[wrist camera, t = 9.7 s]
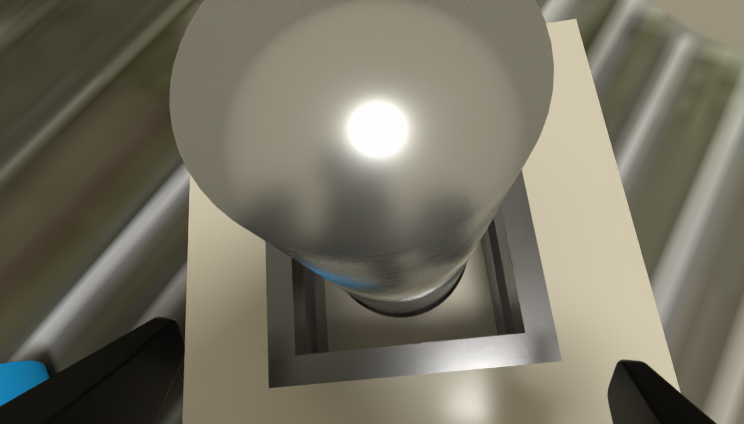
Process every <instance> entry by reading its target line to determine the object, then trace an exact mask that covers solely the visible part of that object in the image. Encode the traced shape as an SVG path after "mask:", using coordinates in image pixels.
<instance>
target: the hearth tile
mask: <svg viewBox="0 0 744 424" xmlns="http://www.w3.org/2000/svg"><path fill="white" fill-rule="evenodd" d="M546 26H547V29H548V33H549V36H550V40H551V44H552V53H553V61H554V81H553V93H552V98H551V103H550V108H549V113H548V116H547V119H546V121H545V124H544V127H543V130H542V132H541V135H540V137H539V139H538V141H537V143H536V145H535V147H534V149H533V150H532V152H531V154H530V156H529V158H528V160H527V161H526V163H525V165H524V166H523V168H522V173H523V177H524V182H525V187H526V192H527V196H528V201H529V206H530V211H531V215H532V220H533V225H534V230H535V234H536V239H537V244H538V249H539V253H540V258H541V263H542V268H543V272H544V277H545V282H546V287H547V292H548V296H549V301H550V306H551V311H552V315H553V320H554V325H555V330H556V334H557V339H558V344H559V349H560V353H561V358H562V361H559V362H548V363H538V364H527V365H516V366H505V367H494V368H483V369H473V370H462V371H451V372H440V373H429V374H418V375H407V376H397V377H386V378H375V379H364V380H353V381H342V382H331V383H321V384H310V385H299V386H288V387H277V388H269V381H268V337H267V293H266V248H265V241H264V240H263V239H261V238H260V237H258V236H256V235H255V234H253V233H252V232H250V231H248V230H247V229H245V228H244V227H242V226H240V225H239V224H237V223H236V222H234V221H233V220H232V219H230V218H229V217H228V216H227V215H226V214H224V213H223V212H222V211H221V210H220V209H218V208H217V207H216V206H215V205H214V204H213V203H212V202H211V201H210V200H209V198H208V197H207V196H206V195H205V194H204V193H203V192H202V191H201V189H200V188H199V187H198V185H197V184H196V182H195V181H194V179H193V178H192V176H191V174H190V196H189V229H188V261H187V294H186V326H185V359H184V391H183V424H613V421H612V417H611V412H610V408H609V403H608V396H607V393H608V387H609V384H610V381H611V378H612V375H613V372H614V369H615V367H616V364H617V362H618V361H619V360H622V359H626V360H637V361H642V362H644V363H646V364H647V365H649V366H650V367H651V368H652V369H653V370H655V371H656V372H657V373H658V374H659V375H660V376H661V377H663V378H664V379H665V380H666V381H667V382H668V383H670V384H671V385H672V386H673V387H674V388H675V389H677V390H678V391H679V392H680V389H679V386H678V382H677V379H676V375H675V371H674V368H673V364H672V361H671V357H670V354H669V350H668V346H667V343H666V339H665V336H664V332H663V329H662V325H661V321H660V318H659V314H658V311H657V307H656V304H655V300H654V296H653V293H652V289H651V286H650V282H649V279H648V275H647V271H646V268H645V264H644V261H643V257H642V254H641V250H640V246H639V243H638V239H637V236H636V232H635V229H634V225H633V221H632V218H631V214H630V211H629V207H628V204H627V200H626V196H625V193H624V189H623V186H622V182H621V179H620V175H619V171H618V168H617V164H616V161H615V157H614V154H613V150H612V146H611V143H610V139H609V136H608V132H607V129H606V125H605V121H604V118H603V114H602V111H601V107H600V103H599V100H598V96H597V93H596V89H595V86H594V82H593V78H592V75H591V71H590V68H589V64H588V61H587V57H586V53H585V50H584V46H583V43H582V39H581V36H580V32H579V28H578V25H577V21H576V19H573V20H566V21H560V22H553V23H547V24H546ZM324 283H325V299H326V315H327V332H328V348H329V352H330V351H340V350H350V349H361V348H371V347H381V346H391V345H401V344H412V343H422V342H432V341H442V340H452V339H463V338H473V337H483V336H493V335H497V329H496V323H495V317H494V311H493V306H492V300H491V294H490V288H489V282H488V276H487V271H486V265H485V259H484V253H483V247H482V242H481V240H480V242H479V243H478V245H477V247H476V248H475V250H474V252H473V254H472V255H471V257H470V259H469V260H468V262H467V264H466V268H465V271H464V274H463V276H462V278H461V280H460V282H459V284H458V285H457V287H456V288H455V290H454V291H453V292H452V294H451V295H450V296H449V297H448V298H447V299H446V300H445V301H444V302H443V303H442V304H440V305H439V306H438V307H436V308H434V309H433V310H431V311H429V312H427V313H424V314H422V315H419V316H415V317H409V318H394V317H387V316H383V315H380V314H377V313H375V312H372V311H370V310H368V309H367V308H365V307H363V306H362V305H360V304H359V303H357V302H356V301H355V300H354V299H353V298H352V297H351V296H350V295H349V294H348V293H347V292H345V291H344V290H342V289H340V288H339V287H337V286H336V285H334V284H333V283H331V282H329V281H328V280H326V279H325V278H324Z"/></svg>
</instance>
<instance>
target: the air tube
mask: <svg viewBox="0 0 744 424" xmlns="http://www.w3.org/2000/svg"><path fill="white" fill-rule="evenodd" d="M553 81H554V61H553V53H552V44H551V40H550V36H549V33H548V29H547V26H546V22H545V20H544V18H543V15H542V13H541V11H540V9H539V7H538V5H537V2H536V1H535V0H204V2H203V3H202V4H201V5H200V7H199V8H198V10H197V12H196V13H195V15H194V17H193V18H192V20H191V22H190V23H189V25H188V27H187V29H186V32H185V34H184V36H183V38H182V40H181V43H180V45H179V48H178V52H177V55H176V58H175V62H174V65H173V71H172V77H171V83H170V114H171V122H172V129H173V133H174V136H175V140H176V144H177V147H178V150H179V152H180V155H181V157H182V159H183V161H184V163H185V166H186V168H187V170H188V171H189V173H190V174H191V176H192V178H193V179H194V181H195V182H196V184H197V185H198V187H199V188H200V189H201V191H202V192H203V193H204V194H205V195H206V196H207V197H208V198H209V200H210V201H211V202H212V203H213V204H214V205H215V206H216V207H217V208H218V209H220V210H221V211H222V212H223V213H224V214H226V215H227V216H228V217H229V218H230V219H232V220H233V221H234V222H236V223H237V224H239V225H240V226H242V227H244V228H245V229H247V230H248V231H250V232H252V233H253V234H255V235H256V236H258V237H260V238H261V239H263V240H264V241H266V242H267V243H269V244H271V245H272V246H274V247H275V248H277V249H279V250H280V251H282V252H283V253H285V254H287V255H288V256H290V257H291V258H293V259H294V260H296V261H298V262H299V263H301V264H302V265H304V266H306V267H307V268H309V269H310V270H312V271H313V272H315V273H317V274H318V275H320V276H321V277H323V278H325V279H326V280H328V281H329V282H331V283H333V284H334V285H336V286H337V287H339V288H340V289H342V290H344V291H345V292H347V293H348V294H349V295H350V296H351V297H352V298H353V299H354V300H355V301H356V302H357V303H359V304H360V305H362V306H363V307H365V308H367V309H368V310H370V311H372V312H375V313H377V314H380V315H383V316H387V317H394V318H409V317H415V316H419V315H422V314H424V313H427V312H429V311H431V310H433V309H434V308H436V307H438V306H439V305H440V304H442V303H443V302H444V301H445V300H446V299H447V298H448V297H449V296H450V295H451V294H452V292H453V291H454V290H455V288H456V287H457V285H458V284H459V282H460V280H461V278H462V276H463V274H464V271H465V268H466V264H467V262H468V260H469V259H470V257H471V255H472V254H473V252H474V250H475V248H476V247H477V245H478V243H479V242H480V240H481V238H482V236H483V235H484V233H485V231H486V230H487V228H488V226H489V225H490V223H491V221H492V219H493V218H494V216H495V214H496V213H497V211H498V209H499V207H500V206H501V204H502V202H503V201H504V199H505V197H506V195H507V194H508V192H509V190H510V189H511V187H512V185H513V184H514V182H515V180H516V178H517V177H518V175H519V173H520V172H521V170H522V168H523V166H524V165H525V163H526V161H527V160H528V158H529V156H530V154H531V152H532V150H533V149H534V147H535V145H536V143H537V141H538V139H539V137H540V135H541V132H542V130H543V127H544V124H545V121H546V119H547V116H548V113H549V108H550V103H551V98H552V93H553Z"/></svg>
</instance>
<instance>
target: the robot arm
mask: <svg viewBox="0 0 744 424" xmlns="http://www.w3.org/2000/svg"><path fill="white" fill-rule="evenodd" d="M184 354H185V344H184V341H183V338H182V334H181V331H180V327H179V324H178V322H177V321H176V320H175V319H173V318H165V317H156V318H154V319H152V320H150V321H148V322H147V323H145V324H143V325H141V326H140V327H138V328H136V329H134V330H133V331H131V332H129V333H127V334H126V335H124V336H122V337H120V338H119V339H117V340H115V341H113V342H112V343H110V344H108V345H106V346H105V347H103V348H101V349H99V350H98V351H96V352H94V353H92V354H91V355H89V356H87V357H85V358H84V359H82V360H80V361H78V362H77V363H75V364H73V365H71V366H70V367H68V368H66V369H64V370H63V371H61V372H59V373H57V374H56V375H54V376H52V377H50V378H49V379H47V380H45V381H43V382H42V383H40V384H38V385H36V386H35V387H33V388H31V389H29V390H28V391H26V392H24V393H22V394H21V395H19V396H17V397H15V398H14V399H12V400H10V401H8V402H7V403H5V404H3V405H1V406H0V424H155V422H156V420H157V418H158V415H159V413H160V411H161V409H162V406H163V404H164V402H165V399H166V397H167V395H168V392H169V390H170V388H171V385H172V383H173V381H174V378H175V376H176V374H177V371H178V369H179V367H180V364H181V362H182V360H183V357H184ZM607 396H608V403H609V408H610V412H611V417H612V421H613V424H716V423H715V422H714V421H713V420H711V419H710V418H709V417H708V416H707V415H706V414H704V413H703V412H702V411H701V410H700V409H699V408H698V407H696V406H695V405H694V404H693V403H692V402H691V401H689V400H688V399H687V398H686V397H685V396H684V395H682V394H681V393H680V392H679V391H678V390H677V389H675V388H674V387H673V386H672V385H671V384H670V383H668V382H667V381H666V380H665V379H664V378H663V377H661V376H660V375H659V374H658V373H657V372H656V371H655V370H653V369H652V368H651V367H650V366H649V365H647V364H646V363H644V362H642V361H637V360H626V359H622V360H619V361H618V362H617V364H616V367H615V369H614V372H613V375H612V378H611V381H610V384H609V387H608V393H607Z"/></svg>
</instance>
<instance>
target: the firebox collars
mask: <svg viewBox="0 0 744 424" xmlns="http://www.w3.org/2000/svg"><path fill="white" fill-rule="evenodd" d="M481 242H482V247H483V253H484V259H485V265H486V271H487V276H488V282H489V288H490V294H491V300H492V306H493V311H494V317H495V323H496V329H497V335H493V336H483V337H473V338H463V339H452V340H442V341H432V342H422V343H412V344H401V345H391V346H381V347H371V348H361V349H350V350H340V351H330V352H329V348H328V332H327V315H326V299H325V283H324V278H323V277H321V276H320V275H318V274H317V273H315V272H313V271H312V270H310V269H309V268H307V267H306V266H304V265H302V264H301V263H299V262H298V261H296V260H294V259H293V258H291V257H290V256H288V255H287V254H285V253H283V252H282V251H280V250H279V249H277V248H275V247H274V246H272V245H271V244H269V243H267V242H266V241H265V248H266V293H267V337H268V381H269V388H277V387H288V386H299V385H310V384H321V383H331V382H342V381H353V380H364V379H375V378H386V377H397V376H407V375H418V374H429V373H440V372H451V371H462V370H473V369H483V368H494V367H505V366H516V365H527V364H538V363H548V362H559V361H562V358H561V353H560V349H559V344H558V339H557V334H556V330H555V325H554V320H553V315H552V311H551V306H550V301H549V296H548V292H547V287H546V282H545V277H544V272H543V268H542V263H541V258H540V253H539V249H538V244H537V239H536V234H535V230H534V225H533V220H532V215H531V211H530V206H529V201H528V196H527V192H526V187H525V182H524V177H523V173H522V170H521V172H520V173H519V175H518V177H517V178H516V180H515V182H514V184H513V185H512V187H511V189H510V190H509V192H508V194H507V195H506V197H505V199H504V201H503V202H502V204H501V206H500V207H499V209H498V211H497V213H496V214H495V216H494V218H493V219H492V221H491V223H490V225H489V226H488V228H487V230H486V231H485V233H484V235H483V236H482V238H481Z"/></svg>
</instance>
